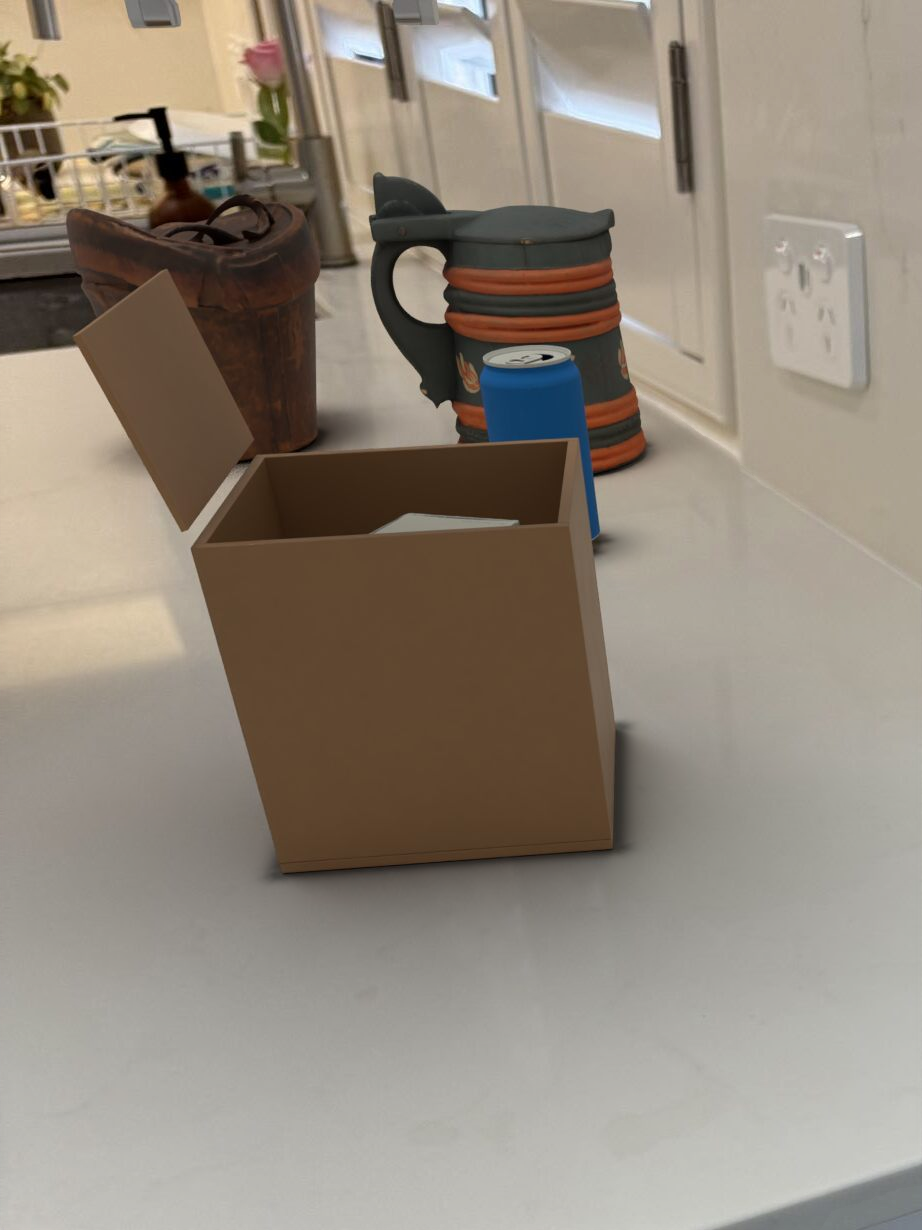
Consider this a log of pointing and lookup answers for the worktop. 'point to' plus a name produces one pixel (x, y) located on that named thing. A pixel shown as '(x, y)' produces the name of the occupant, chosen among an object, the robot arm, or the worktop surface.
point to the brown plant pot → (226, 301)
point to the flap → (167, 394)
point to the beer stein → (509, 305)
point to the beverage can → (538, 403)
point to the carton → (416, 653)
